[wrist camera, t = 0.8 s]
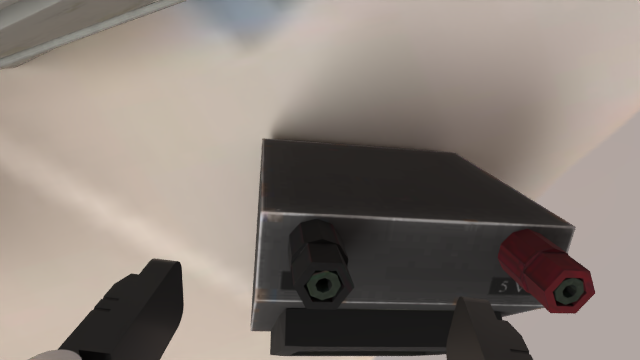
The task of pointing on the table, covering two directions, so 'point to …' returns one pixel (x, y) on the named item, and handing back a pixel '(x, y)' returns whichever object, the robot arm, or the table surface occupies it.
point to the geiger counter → (61, 23)
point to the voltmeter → (396, 249)
